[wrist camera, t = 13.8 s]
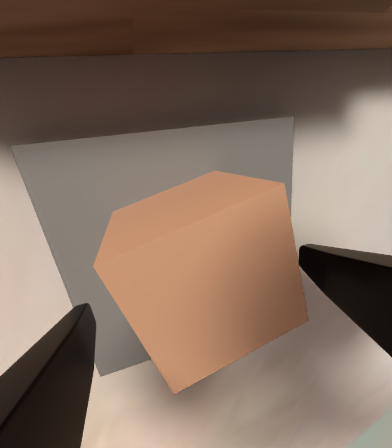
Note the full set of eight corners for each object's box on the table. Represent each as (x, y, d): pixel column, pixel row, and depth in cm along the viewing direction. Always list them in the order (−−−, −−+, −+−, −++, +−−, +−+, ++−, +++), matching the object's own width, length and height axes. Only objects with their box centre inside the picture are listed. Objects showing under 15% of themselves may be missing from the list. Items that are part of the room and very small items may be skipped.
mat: (278, 303, 15) (287, 312, 14) (102, 360, 13) (100, 376, 12) (280, 119, 11) (293, 116, 10) (22, 146, 9) (9, 145, 8)
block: (240, 256, 12) (308, 320, 7) (157, 296, 11) (174, 394, 7) (214, 170, 10) (284, 183, 5) (112, 211, 9) (92, 266, 5)
